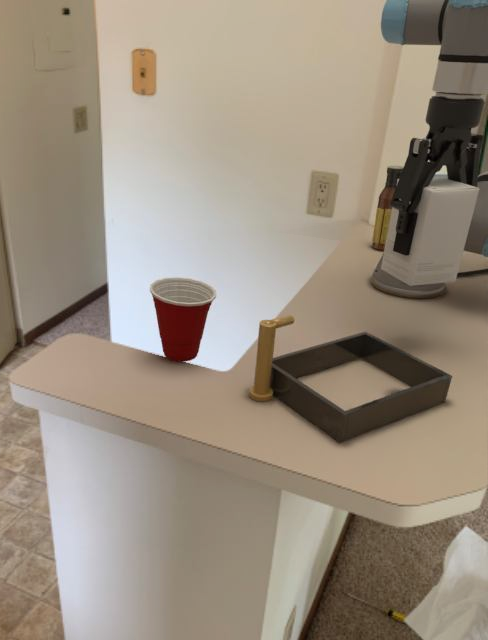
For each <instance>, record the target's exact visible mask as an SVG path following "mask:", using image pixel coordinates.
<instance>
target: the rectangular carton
mask: <svg viewBox="0 0 488 640" xmlns="http://www.w3.org/2000/svg"><path fill="white" fill-rule="evenodd" d="M398 181H399V179H398V180H397V183H398ZM478 192H479V188H477V187H474V186H471V185H468V184H464V183H461V182H457V181H453V180H449V179H448V178H446V177H433V179H432V181H431V182H430V184H429V186H428V187H425V188H424V189H423V192H422V196H421V200H420V202H419V204H418V206H417V207H416V209H415V211H414V212H416V213H418V216H417V221H416V226H415V230H414V235H413V239H412V244H411V249H410V253H409V255H407V256H405V255H403V254H400V253H397V252H394V251H393V247H394V242H395V237H396V225H397V220H398V215H399V210H398V209H395V208H394V207H392V213H391V218H390V223H389V229H388V234H387V239H386V245H385V250H384V251H383V253H384V255H383V254H382V255H383V261H382V266H381V269H382V270H384V271H385V272H387V273H389V274H390V275H392V276H394V277H396V278H397V279H399V280H401V281H402V282H404V283H406V284H407V285H409V286H414V285H425V284H436V283H445V284H446V283H455V282H456V281H457V277H458V276H457V273H459V270H460V266H461V261H462V257H463V254H464V251H463V250H464V246H465V242H466V239H467V235H468V231H469V227H470V223H471V219H472V215H473V212H474V208H475V204H476V200H477V196H478ZM399 200H401V199H399ZM410 203H411V201H410V202H409V204H410Z"/></svg>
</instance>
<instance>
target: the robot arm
mask: <svg viewBox="0 0 488 640" xmlns="http://www.w3.org/2000/svg"><path fill="white" fill-rule="evenodd" d="M380 19H381V20H380V31H381V36H382V38H383V40H384V41H385V42H386V43H388V44H395V45H400V46H406V45H408V46H410V45H411V46H440V49H439V55H438V57H437V65H436V69H435V74H434V79H433V83H432V87H431V91H432V92H433V93H435V94H434V95H433V96H431V98H429V100H428V105H427V110H426V115H425V123H426V124H427V125H428V126H429V127H428V128H429V129H428V132H427V134H426V136H425V137H423V138H418V137H412V138H411V140H410V142H409V147H408V155H407V157H406V159H405V163H404V165H403V166H402V167H403V170H402V173H401V175H400V178H399V181H398V183H397V186H396V189H395V191H394V194H393V197H392V199H391V202H390V206H391V207H394V208H395V209H398V210H399V215H398V220H397V225H396V237H395V242H394V247H393V251H394V252H397V253H400V254H403V255H405V256H407V255H409V253H410V249H411V244H412V239H413V235H414V230H415V226H416V221H417V216H418V213H416V212H414V211H415V209H416V207H417V206H418V204H419V202H420V200H421V196H422V192H423V189H424V188H425V187H428V186H429V184H430V182H431V181H432V179H433V177H446V178H448V179H449V180H453V181H457V182H461V183H464V184H468V185H471V186H474V187H477V188H479V192H478V196H477V200H476V204H475V208H474V212H473V215H472V219H471V223H470V227H469V231H468V235H467V239H466V242H465V246H464V250H463V252H468V253H472V254H476V255H480V256H483V257H484V258H488V170H486V171H485V172H483V173H481V174H479V171H480V170H479V169H480V158H481V149H482V146H483V144H484V140H485V136H484V134H480V133H475V132H472V129H474V128H477V127H479V125H480V123H481V120H482V116H483V112H484V107H485V103H486V101H485V99H484V98H483V96H486V95H487V94H488V0H386V1H385V3H384V5H383V8H382V11H381V18H380ZM443 166H445V168H446V174H445V173H444V174H443V173H442V174H441V173H438V172H440V171H442V168H443ZM436 173H438V174H436ZM399 199H401V200H399ZM410 201H411V203H410V204H409V202H410ZM383 255H384V252H383V253H382V255H381V257H380V258H379V261H378V262H377V264H376V266H375V268H374V269H373V272H372V275H371V281H370V282H371V285H372V286H373V287H374V288H375V289H377V290H379V291H381V292H383V293H386V294H388V295H392V296H396V297H401V298H407V299H431V298H436V297H439V296H440V295H442V294H443V293H444V291H445V287H446V283H436V284H425V285H414V286H409V285H407V284H406V283H404V282H402V281H401V280H399V279H397V278H396V277H394V276H392V275H390V274H389V273H387V272H385V271H384V270H382V269H381V266H382V261H383ZM486 273H488V268H482V269H477V270H470V271H461V272H459V271H458V273H457V277H465V276H472V275H479V274H486Z"/></svg>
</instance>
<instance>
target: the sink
mask: <svg viewBox="0 0 488 640" xmlns="http://www.w3.org/2000/svg"><path fill="white" fill-rule="evenodd" d="M294 323H295V317H294V316H293V315H291V314H289V315H284V316H280V317H277V318H272V319H263V320H260V321H259V323H258V335H257V347H256V357H255V367H254V368H255V369H254V379H253V386H251V387H250V388H249V390H248V396H249V398H250V399H252V400H253V401H256V402H269V401H271V400H272V399H273V398H274V397H276V398H277V399H279V400H280V401H281V402H282V403H284V404H285V405H287V406H288V407H289V408H290V409H292V410H293V411H295V412H296V413H297V414H299V415H301V416H302V418H304V419H306V420H307V421H308V422H310V423H311V424H313V425H314V426H316V427H317V428H318V429H320V430H321V431H323V432H324V433H325V434H327V435H328V436H330V437H331V438H332V439H333V440H335V441H337V442H338V443H339V444H341V443H343V442H346V441H348V440H351V439H353V438H356V437H358V436H361V435H363V434H366V433H369V432H371V431H374V430H376V429H379V428H382V427H384V426H386V425H389V424H392V423H394V422H397V421H399V420H403V419H404V418H406V417H409V416H412V415H414V414H417V413H419V412H422V411H425V410H427V409H430V408H433V407H435V406H438V405H440V404H443V403H446V400H447V397H448V393H449V389H450V387H451V384H452V383H451V382H452V379H453V375H452V374H449V373H447V372H445V371H444V370H442V369H440V368H438V367H436V366H434V365H432V364H431V363H428V362H426V361H424V360H422V359H421V358H418V357H416V356H414V355H412V354H410V353H408V352H407V351H404V350H403V349H401V348H399V347H397V346H395V345H393V344H391V343H390V342H387V341H386V340H383V339H382V338H379V337H377V336H375V335H373V334H371V333H369V332H367V331H362V332H359V333H355V334H352V335H348V336H344V337H341V338H338V339H335V340H331V341H327V342H323V343H320V344H317V345H313V346H309V347H306V348H303V349H299V350H296V351H292V352H289V353H285V354H282V355H279V356H274V351H275V343H276V341H275V340H276V333H277V329H280V328H283V327H287V326H291V325H293V324H294ZM359 359H362V360H364V361H365V362H368V363H369V364H371V365H373V366H374V367H376V368H377V369H380V370H382V371H383V372H385V373H387V374H389V375H391V376H393V377H394V378H395V379H398V380H400V381H401V382H402V383H404V384H407V385H409V386H410V387H408V388H405V389H402V390H394V391H392V392H390V394H388V395H385V396H383V397H380V398H377V399H374V400H372V401H368V402H366V403H364V404H363V403H362V404H361V405H358V406H355V407H353V408H349V409H347V410H344V408H343V409H342V408H341V407H340V406H338V405H337V404H335V403H334V402H332V401H331V400H329V399H328V398H327V397H325V396H323V395H322V394H321V393H319V392H317V391H316V390H314V389H313V388H311V387H310V386H308V385H307V384H305V383H304V382H302V381H301V380H299V379H298V378H301V377H303V376H307V375H311V374H313V373H317V372H320V371H323V370H327V369H330V368H333V367H336V366H339V365H342V364H346V363H348V362H352V361H355V360H359Z"/></svg>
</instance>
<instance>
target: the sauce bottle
mask: <svg viewBox="0 0 488 640" xmlns="http://www.w3.org/2000/svg"><path fill="white" fill-rule="evenodd" d="M403 167H404V166H403V165H388V166H387V168H386V180H385V183H384V184H385V186H384V188H383V189H382V190H381V191H380V193H379V195H378V202H377V206H376V213H375V220H374V226H373V234H372V249H376V250H378V251H383V252H384V250H385V245H386V239H387V234H388V229H389V223H390V218H391V213H392V207H391V206H390V202H391V199H392V197H393V194H394V191H395V189H396V186H397V180H398V179H399V178H400V175H401V173H402V170H403Z"/></svg>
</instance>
